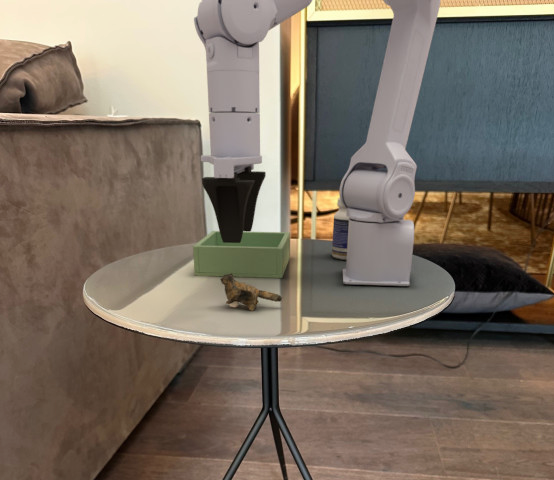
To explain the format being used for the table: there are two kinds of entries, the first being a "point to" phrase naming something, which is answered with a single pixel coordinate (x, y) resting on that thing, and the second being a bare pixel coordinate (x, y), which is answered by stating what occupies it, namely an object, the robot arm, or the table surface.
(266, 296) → the cat figurine
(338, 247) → the pill bottle
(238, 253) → the basket
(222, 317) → the table surface
